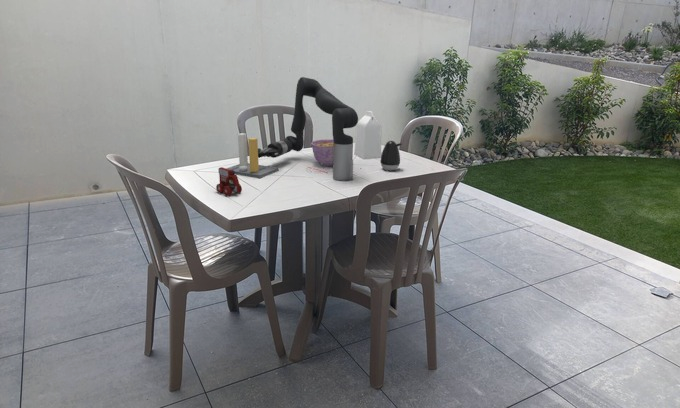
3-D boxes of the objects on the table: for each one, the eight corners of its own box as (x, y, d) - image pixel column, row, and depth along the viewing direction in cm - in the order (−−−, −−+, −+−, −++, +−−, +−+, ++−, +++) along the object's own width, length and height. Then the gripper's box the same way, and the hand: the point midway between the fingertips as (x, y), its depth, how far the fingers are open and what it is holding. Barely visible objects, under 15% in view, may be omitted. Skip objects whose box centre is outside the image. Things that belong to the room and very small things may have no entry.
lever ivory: (248, 164, 224) (246, 133, 219) (244, 166, 222) (242, 134, 216) (243, 164, 225) (241, 133, 220) (239, 165, 223) (237, 134, 217)
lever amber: (258, 170, 213) (257, 138, 208) (255, 172, 211) (253, 139, 205) (253, 170, 214) (252, 137, 209) (250, 171, 212) (248, 138, 207)
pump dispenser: (397, 173, 221) (399, 143, 216) (377, 170, 224) (379, 141, 219) (401, 168, 230) (403, 139, 225) (382, 166, 233) (384, 138, 228)
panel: (278, 170, 221) (278, 167, 220) (259, 178, 207) (259, 175, 207) (243, 165, 230) (243, 162, 229) (223, 172, 216) (223, 169, 216)
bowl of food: (349, 160, 244) (350, 140, 240) (346, 169, 225) (347, 147, 221) (314, 159, 246) (314, 138, 242) (308, 168, 227) (308, 146, 223)
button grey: (249, 170, 215) (249, 166, 215) (244, 172, 212) (243, 168, 211) (242, 169, 217) (242, 165, 216) (237, 171, 213) (237, 167, 213)
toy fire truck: (231, 197, 180) (230, 173, 177) (214, 191, 188) (212, 168, 184) (245, 194, 185) (243, 170, 182) (227, 188, 193) (225, 165, 189)
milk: (354, 154, 258) (355, 110, 249) (371, 153, 262) (373, 109, 254) (363, 159, 247) (365, 113, 239) (381, 157, 252) (383, 112, 243)
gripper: (266, 140, 229) (246, 146, 214) (287, 143, 223) (268, 149, 209) (267, 154, 231) (246, 161, 217) (288, 157, 226) (268, 164, 211)
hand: (257, 155), depth 213 cm, fingers closed
